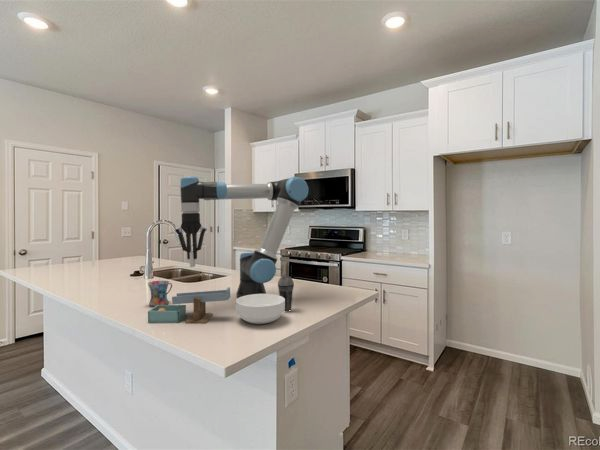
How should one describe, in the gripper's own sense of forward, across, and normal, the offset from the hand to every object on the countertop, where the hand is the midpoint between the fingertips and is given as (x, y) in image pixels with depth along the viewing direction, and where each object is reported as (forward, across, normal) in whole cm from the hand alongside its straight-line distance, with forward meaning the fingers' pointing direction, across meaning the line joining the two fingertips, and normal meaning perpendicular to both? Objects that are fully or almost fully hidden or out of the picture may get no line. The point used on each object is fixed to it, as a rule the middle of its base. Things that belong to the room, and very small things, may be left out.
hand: (192, 266), depth 143 cm
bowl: (+21, -30, +14) cm, 39 cm away
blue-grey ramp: (+12, -6, +7) cm, 16 cm away
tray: (+20, +8, +10) cm, 23 cm away
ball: (+17, +10, +10) cm, 22 cm away
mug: (+20, +18, -12) cm, 29 cm away
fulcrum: (+20, -5, +11) cm, 23 cm away
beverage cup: (+21, -40, +1) cm, 45 cm away
